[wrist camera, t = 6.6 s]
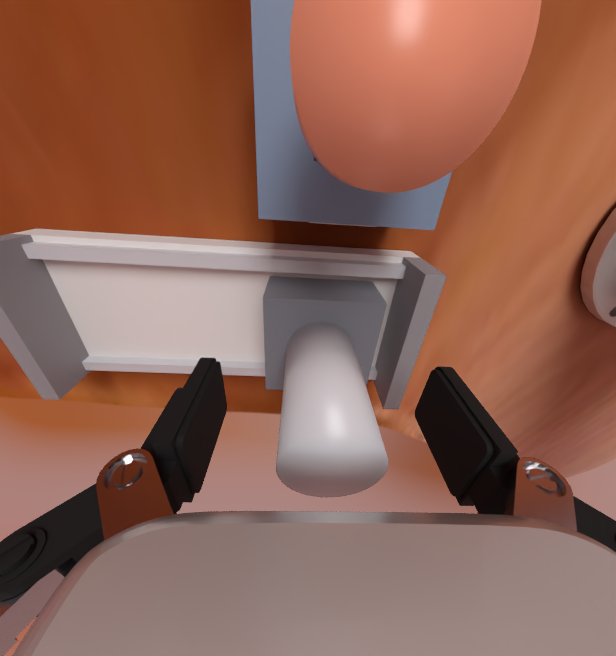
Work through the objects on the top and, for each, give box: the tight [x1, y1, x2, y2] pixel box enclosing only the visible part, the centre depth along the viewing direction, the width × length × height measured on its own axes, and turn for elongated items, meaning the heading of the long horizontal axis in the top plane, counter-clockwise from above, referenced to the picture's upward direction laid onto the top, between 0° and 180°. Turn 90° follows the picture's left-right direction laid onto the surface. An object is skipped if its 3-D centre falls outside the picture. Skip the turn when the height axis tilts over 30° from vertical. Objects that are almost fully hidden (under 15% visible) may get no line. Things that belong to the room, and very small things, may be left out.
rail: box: [0, 229, 447, 409], centre depth 15 cm, size 22×9×4 cm, turn 86°
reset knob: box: [290, 0, 542, 193], centre depth 7 cm, size 4×4×5 cm
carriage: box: [263, 276, 388, 497], centre depth 12 cm, size 6×6×9 cm
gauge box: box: [251, 0, 452, 230], centre depth 10 cm, size 7×7×5 cm
